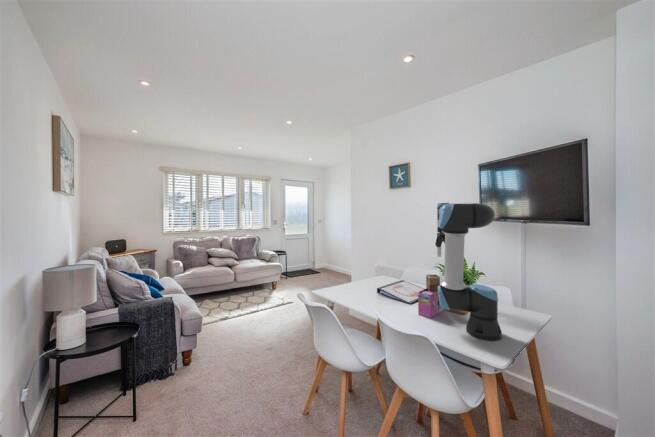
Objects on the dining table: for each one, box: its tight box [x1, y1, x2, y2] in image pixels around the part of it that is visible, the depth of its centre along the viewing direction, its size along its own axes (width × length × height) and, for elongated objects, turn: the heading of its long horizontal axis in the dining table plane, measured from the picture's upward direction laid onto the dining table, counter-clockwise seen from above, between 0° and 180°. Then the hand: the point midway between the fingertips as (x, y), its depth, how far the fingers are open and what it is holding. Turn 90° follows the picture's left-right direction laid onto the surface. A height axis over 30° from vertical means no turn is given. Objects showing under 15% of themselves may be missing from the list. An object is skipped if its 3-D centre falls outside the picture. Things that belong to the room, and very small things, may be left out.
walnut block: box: [425, 274, 441, 290], centre depth 162 cm, size 6×6×8 cm
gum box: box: [417, 287, 445, 319], centre depth 162 cm, size 24×8×14 cm, turn 134°
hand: (443, 258), depth 176 cm, fingers open, 13 cm apart
